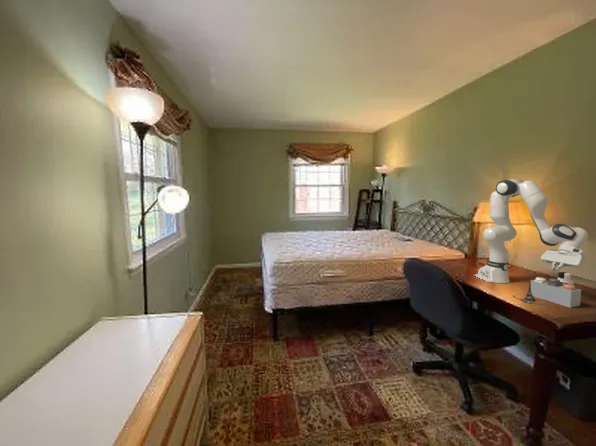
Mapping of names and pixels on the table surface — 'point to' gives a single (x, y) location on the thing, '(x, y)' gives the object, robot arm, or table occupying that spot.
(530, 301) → the eiffel tower figurine
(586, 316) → the table surface
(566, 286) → the button terracotta
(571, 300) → the button console
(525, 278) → the table surface
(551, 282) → the button charcoal
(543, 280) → the button cream
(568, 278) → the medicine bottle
